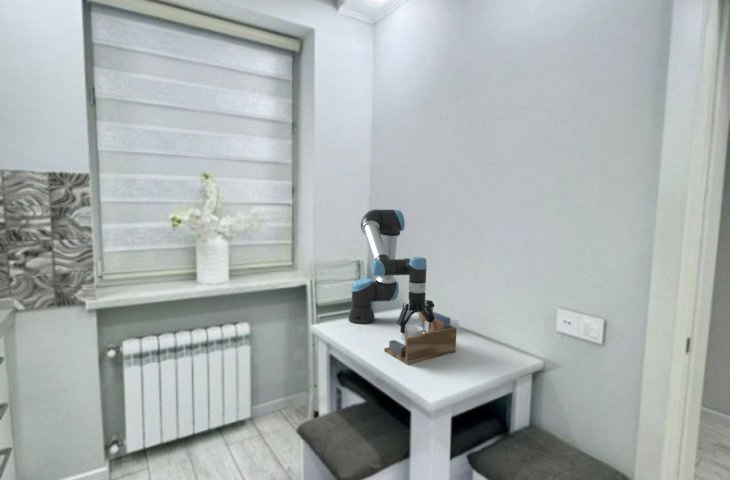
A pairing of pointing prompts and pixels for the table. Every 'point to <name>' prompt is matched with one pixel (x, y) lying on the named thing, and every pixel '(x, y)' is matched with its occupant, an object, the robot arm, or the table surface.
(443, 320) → the books
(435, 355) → the wooden book rack
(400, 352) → the grey rectangular block
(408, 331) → the cup
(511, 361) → the table surface
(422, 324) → the coffee cup
